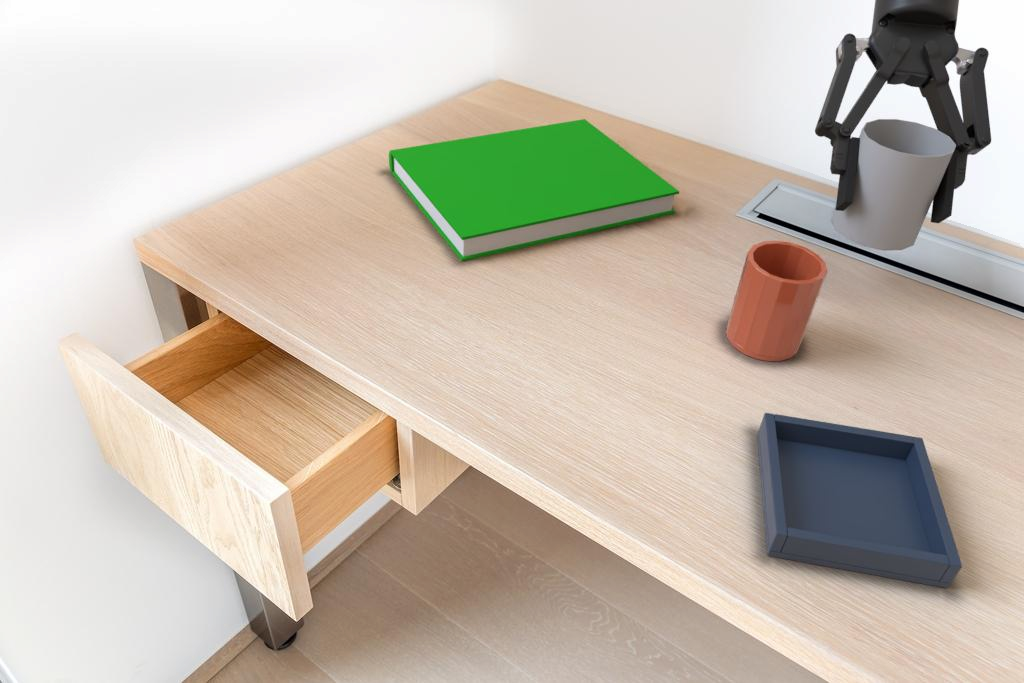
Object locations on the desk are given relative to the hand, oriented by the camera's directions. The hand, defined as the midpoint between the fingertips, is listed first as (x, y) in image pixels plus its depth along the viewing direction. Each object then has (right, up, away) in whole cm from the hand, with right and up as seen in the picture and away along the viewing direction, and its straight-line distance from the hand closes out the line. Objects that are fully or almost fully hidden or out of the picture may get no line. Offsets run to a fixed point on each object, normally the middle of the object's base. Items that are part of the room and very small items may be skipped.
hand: (892, 212), depth 77 cm
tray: (-11, -25, -15) cm, 31 cm away
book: (-35, +6, +22) cm, 41 cm away
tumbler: (-12, -12, +1) cm, 17 cm away
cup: (0, -1, +5) cm, 5 cm away
